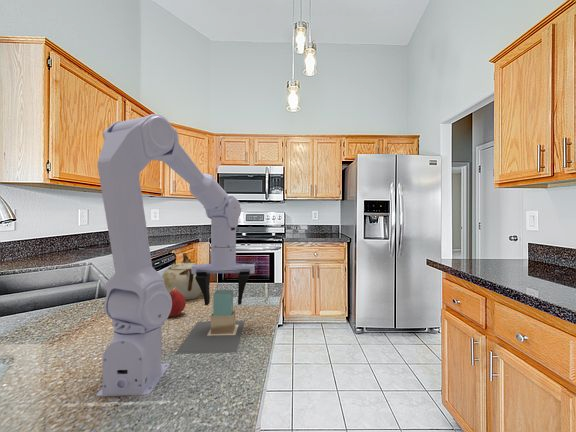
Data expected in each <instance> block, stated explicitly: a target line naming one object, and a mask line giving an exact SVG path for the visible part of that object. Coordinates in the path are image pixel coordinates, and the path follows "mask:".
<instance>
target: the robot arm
mask: <svg viewBox="0 0 576 432" xmlns="http://www.w3.org/2000/svg"><path fill="white" fill-rule="evenodd" d="M102 137H103V144H102V147H101V150H100V153H99V156H98V159H97V170H98V171H97V172H98V177H99V182H100V190H101V194H102V201H103V207H104V212H105V219H106V224H107V231H108V237H109V242H110V247H111V248H110V249H111V254H112V255H111V257H112V261H113V266H114V274H113V275H112V277H110V278H109V279H108V280H107V282H106V284H105V286H106V296H105V300H104V305H103V307H104V308H103V309H104V313H105V314H106V316H107V317H108V318H109V319H110V320H111V322H112V324H111V325H112V327H113V337H112V340H111V342H110V343H109V345H108V346H107V347H106V348H105V350H104V352H103V355H102V373H101V374H102V379H101V380H102V382H101V383H102V388H101V389H100V390H99V391H98V392H97V393H96V394H95V395H96V397H113V396H114V397H116V396H119V397H120V396H144V395H145V396H146V395H147V396H149V394H151V393H152V392H153V391H154V389H155V388H156V386H157V384H158V383H159V381H160V380H161V379H162V377H163V376H164V374H165V372H166V371H167V370H168V368H169V367H170V365H171V363H168V362H167V363H162V362H163V361H162V359H163V357H162V353H163V352H162V351H163V349H162V348H163V347H162V343H163V342H162V336H163V334H162V332H163V331H162V330H163V329H162V328H163V327H162V326H164V325H165V322H166V321H167V319H168V318H169V317H170V316H169V314H170V312H171V308H172V298H171V295H170V294H169V292H168V291H167V289H166V287H165V282H164V279H163V277H162V276H163V275H161V274H160V273H159V272H158V271H157V270H156V269H155V268H154V267H153V263H152V261H153V260H152V255H151V248H150V242H149V235H148V228H147V221H146V215H145V209H144V201H143V194H142V193H143V192H142V187H141V180H140V174H141V172H142V171H144V169H145V168H146V167H147V165H149V164H150V162H152V161H157V162H163V163H164V164H165V165H167V166H168V167H169V168H170V169H171V170H172V171H174V173H176V174H177V175H178V176H179V177H181V178H182V179H183V180H184V181H185V182H186V183H188V184H189V193H190V194H191V195H192V196H193V197H194V198H195V199H196V200H197V201H198V202H199V203H200V204H201V205H202V206H203V208H204V209H205V214H206V217H207V218H208V219H211V220H210V221H211V223H210V224H211V225H210V226H211V228H210V230H211V233H210V235H211V237H210V239H211V240H210V241H211V243H210V245H211V247H210V251H211V252H210V253H211V254H210V257H211V258H210V259H211V260H210V263H203V264H198V265H193V266H192V274H196V277H195V279H196V281H197V283H198V285H199V287H200V289H201V293H202V294H201V295H202V297H203V302H204V305H205V306H208V305H210V301H211V298H210V283H211V281H210V280H211V274H238V275H237V285H238V287H237V288H238V295H237V305H239V306H240V305H242V303H243V295H244V291H245V287H246V285H247V282H248V280H249V278H250V276H251V274H255V272H256V271H255V264H253V263H237V261H236V260H237V227H238V225H239V219H240V216H241V213H242V207H241V203H240V201H239V200H238V199H237V197H235V196H233V195H228V193H227V191H226V190H224V189H223V188H222V186H221V185H220V184H219V183H218V181H216V178H215V177H214V175H212V174H209V173H203V172H202V171H201V170H200V169H199V167H198V166H197V165H196V163H195V162H194V161H193V159H192V158H191V157H190V156H189V154H188V153H187V152H186V150H185V149H184V147H182V145H181V143H179V142H180V140H179V133H178V130H176V129H175V128H174V127H173V126H172V125H171V123H170V121H169V120H168V119H167V118H166V117H165V116H163V115H161V114H159V113H152V114H148V115H147V116H142V117H137V118H132V119H127V120H121V121H120V120H119V121H115V122H113V123H112V124H111V125H109V126H108V127H107V128H106V129H104V130H103V131H102Z"/></svg>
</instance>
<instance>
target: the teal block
mask: <svg viewBox="0 0 576 432" xmlns="http://www.w3.org/2000/svg"><path fill="white" fill-rule="evenodd" d="M212 295H213V298H212V301H213V306H212V307H213V308H212V309H213V311H212V312H213V313H212V314H213V316H231V314H232V312H233V310H234V290H233V289H216V291H214V293H213V294H212Z"/></svg>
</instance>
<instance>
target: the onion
mask: <svg viewBox="0 0 576 432" xmlns="http://www.w3.org/2000/svg"><path fill="white" fill-rule="evenodd" d="M177 290H178V289H177V288H173V290H172V291H171V292H170V293H169V294H170V295H171V298H172V308H171V312H170V314H169V316H168V317H171V318H172V317H173V318H175V317H178V316H179V315H180V314H182V312H183V311H184V310H185V308H186V304H187V301H186V300H185V297H184V296H183V295H182V294H181V293H180V292H178V291H177Z"/></svg>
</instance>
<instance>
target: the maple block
mask: <svg viewBox="0 0 576 432" xmlns="http://www.w3.org/2000/svg"><path fill="white" fill-rule="evenodd" d="M210 321H211V334H233V332H234V329H235V321H236V309H233V312H232V314H231V316H213V313H212V314H211V316H210Z"/></svg>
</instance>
